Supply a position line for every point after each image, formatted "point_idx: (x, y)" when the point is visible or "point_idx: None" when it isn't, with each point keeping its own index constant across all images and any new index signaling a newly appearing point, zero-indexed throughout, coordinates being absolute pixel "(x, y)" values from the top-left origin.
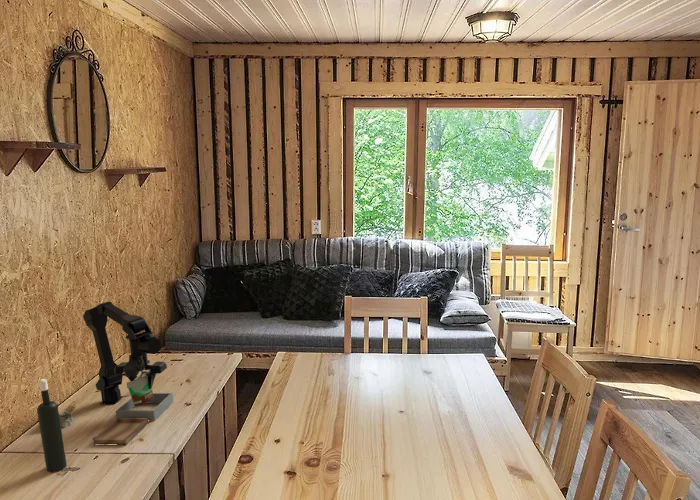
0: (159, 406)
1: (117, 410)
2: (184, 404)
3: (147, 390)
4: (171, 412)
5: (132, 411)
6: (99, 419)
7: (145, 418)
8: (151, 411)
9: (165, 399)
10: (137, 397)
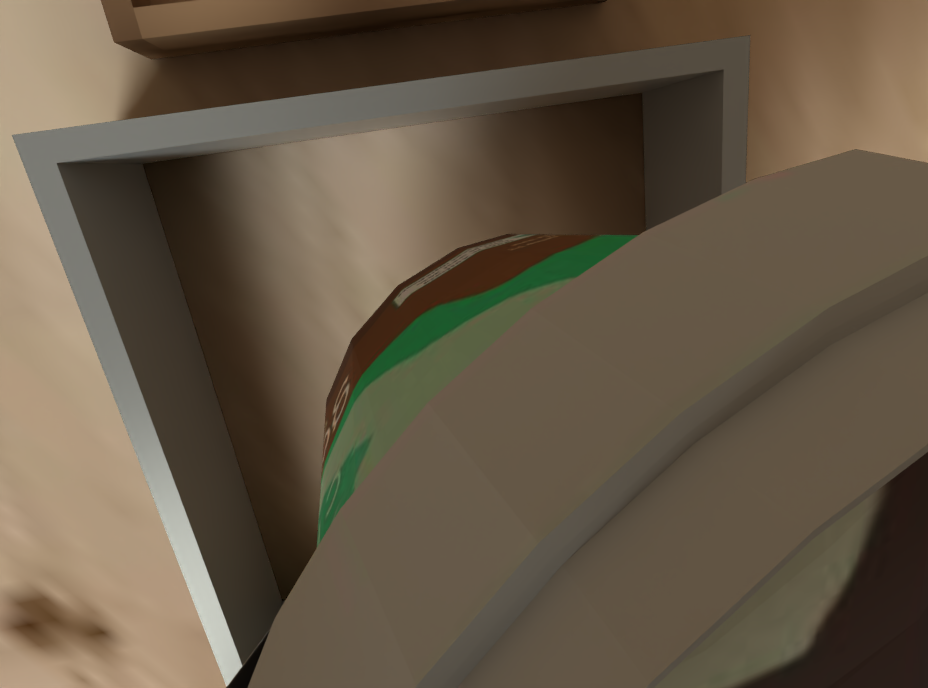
0: (108, 353)
1: (729, 64)
2: (90, 605)
3: (318, 532)
4: (81, 407)
5: (442, 78)
6: (906, 82)
7: (146, 20)
8: (66, 129)
9: (174, 552)
10: (458, 285)
